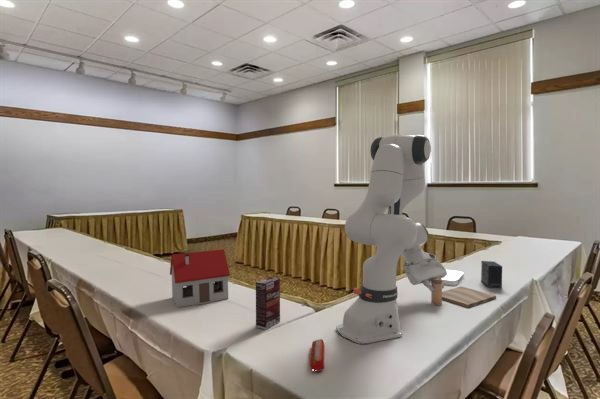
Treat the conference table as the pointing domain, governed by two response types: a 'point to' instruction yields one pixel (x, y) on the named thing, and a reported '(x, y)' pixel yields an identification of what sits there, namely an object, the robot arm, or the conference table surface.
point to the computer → (452, 277)
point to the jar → (436, 291)
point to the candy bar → (317, 355)
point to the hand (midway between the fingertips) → (437, 289)
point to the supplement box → (267, 302)
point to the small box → (491, 274)
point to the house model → (199, 277)
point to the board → (466, 296)
